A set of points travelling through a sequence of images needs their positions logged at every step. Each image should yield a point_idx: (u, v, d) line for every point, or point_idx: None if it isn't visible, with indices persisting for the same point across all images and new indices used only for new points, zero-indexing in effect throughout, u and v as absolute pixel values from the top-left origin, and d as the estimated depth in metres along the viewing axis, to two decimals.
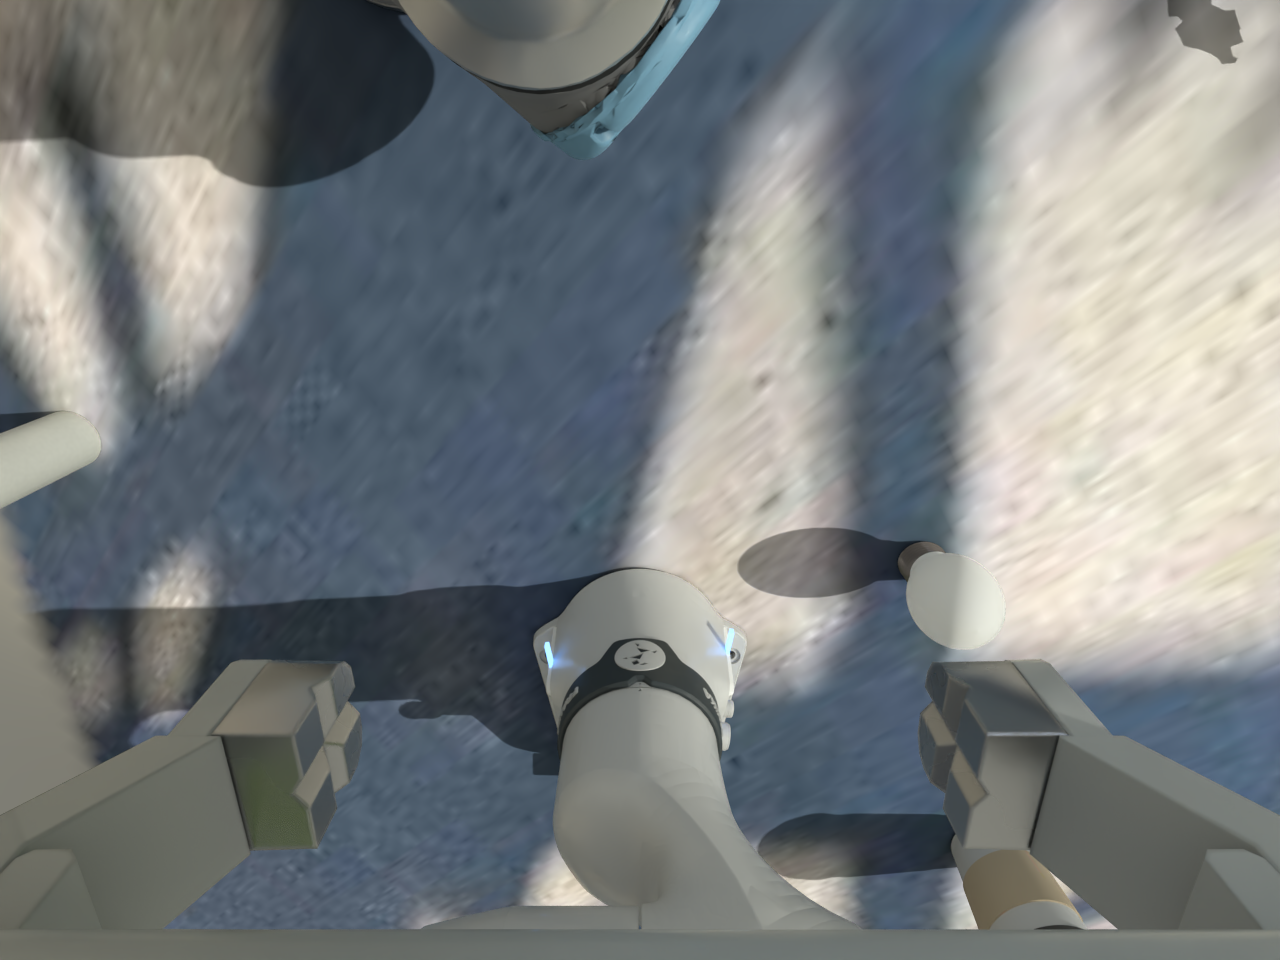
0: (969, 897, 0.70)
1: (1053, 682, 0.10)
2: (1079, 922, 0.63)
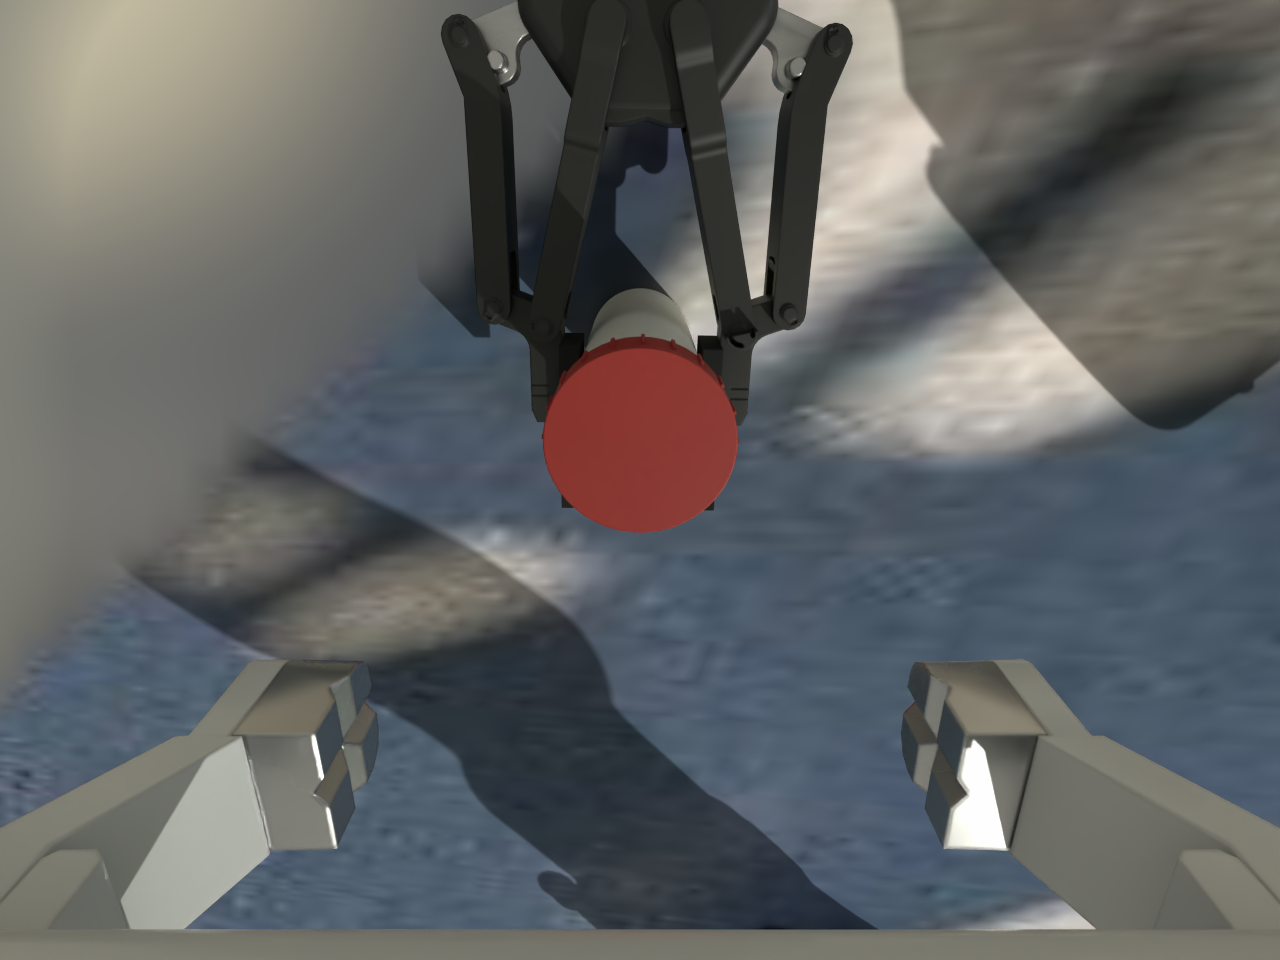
0: None
1: (1034, 682, 0.10)
2: None
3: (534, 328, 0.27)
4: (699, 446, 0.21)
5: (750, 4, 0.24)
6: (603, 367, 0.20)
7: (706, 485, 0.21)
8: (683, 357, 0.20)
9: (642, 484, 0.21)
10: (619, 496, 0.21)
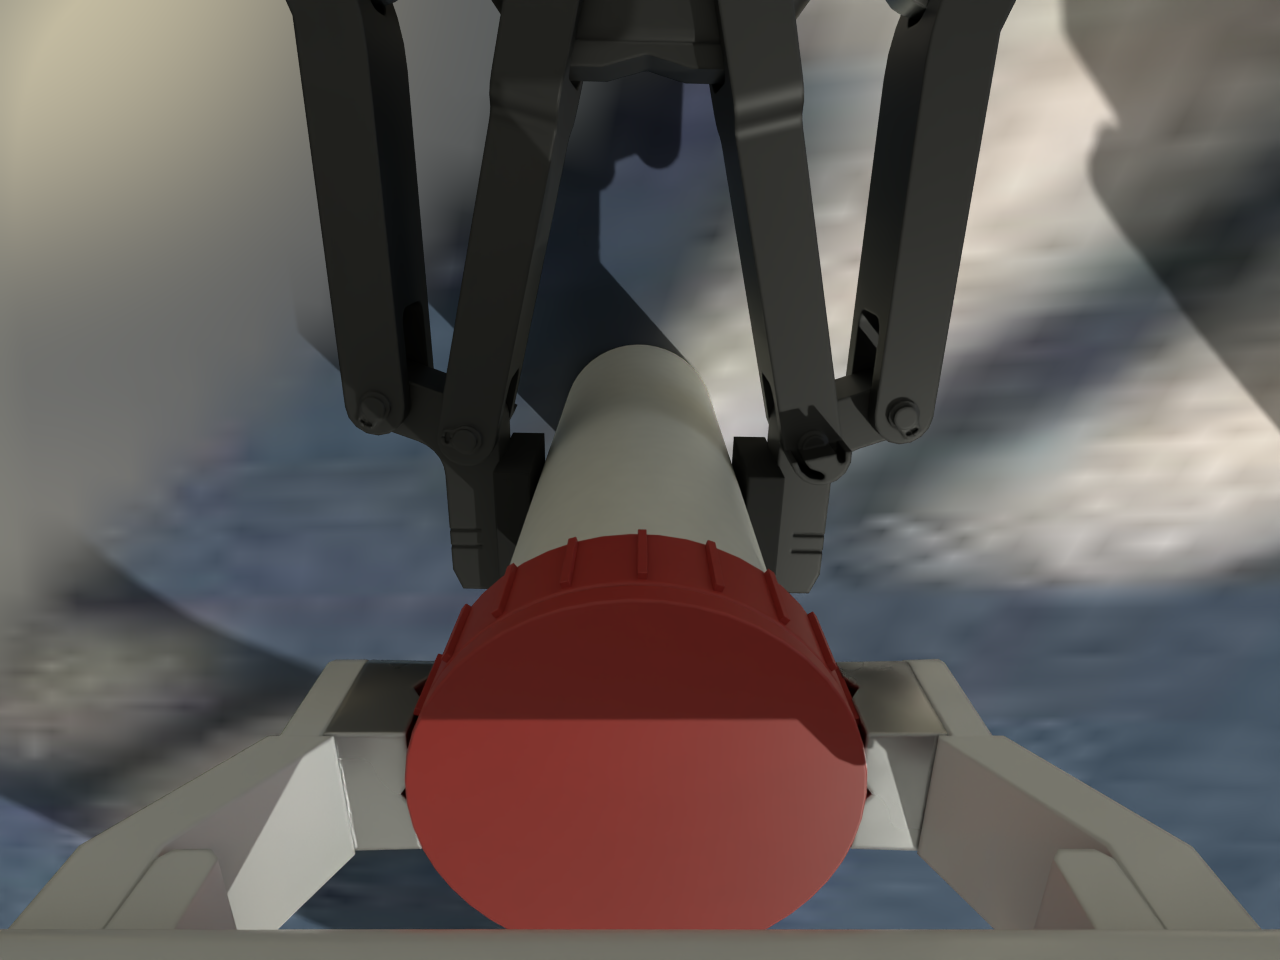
0: None
1: (944, 682, 0.10)
2: None
3: (449, 441, 0.15)
4: (775, 804, 0.09)
5: None
6: (544, 643, 0.08)
7: (788, 878, 0.09)
8: (743, 620, 0.08)
9: (641, 876, 0.09)
10: (588, 897, 0.09)
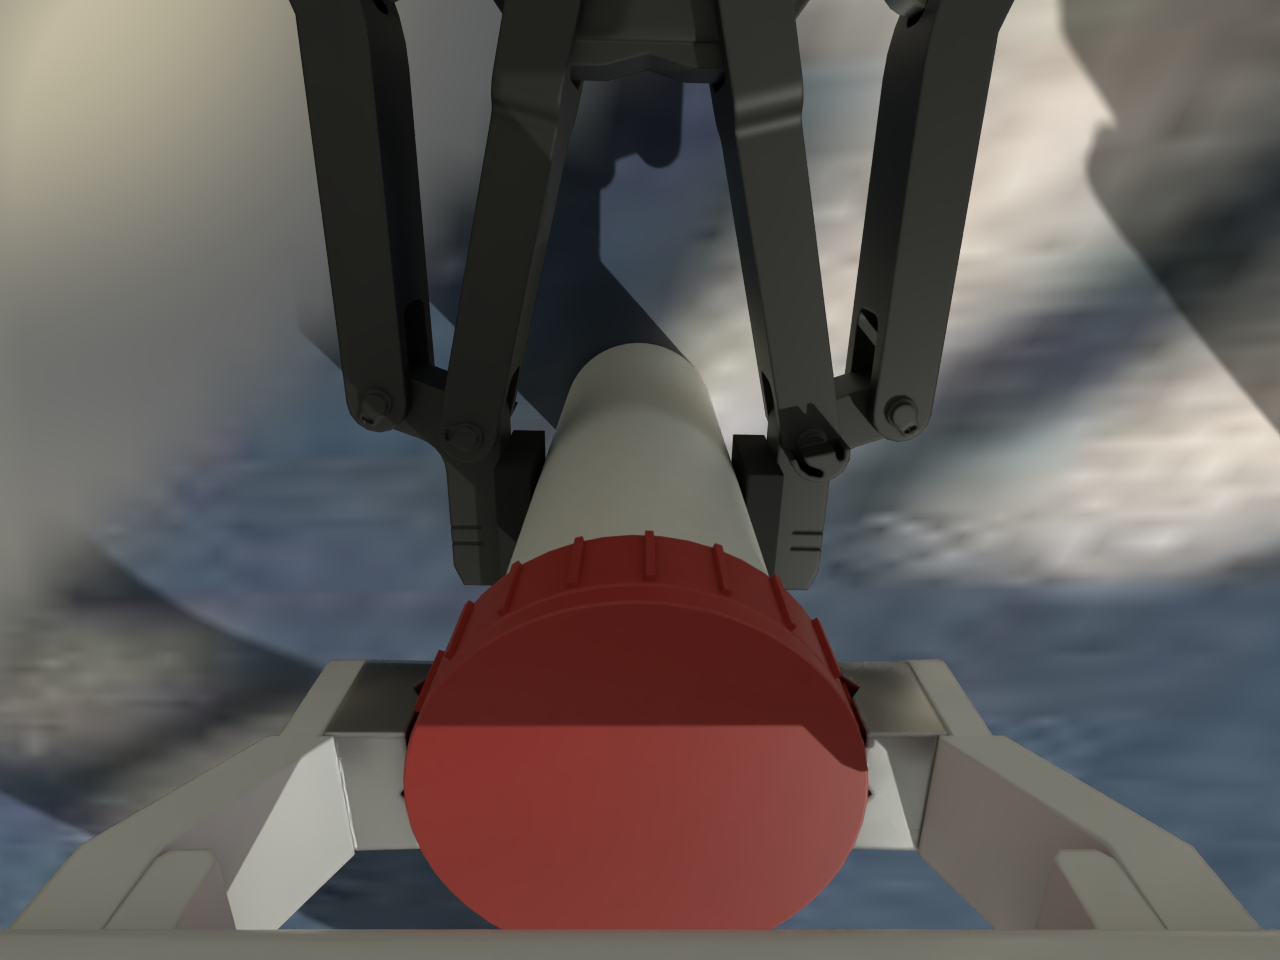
0: None
1: (945, 682, 0.10)
2: None
3: (450, 438, 0.15)
4: (730, 715, 0.08)
5: None
6: (433, 765, 0.09)
7: (822, 754, 0.08)
8: (519, 625, 0.08)
9: (717, 848, 0.09)
10: (706, 893, 0.09)
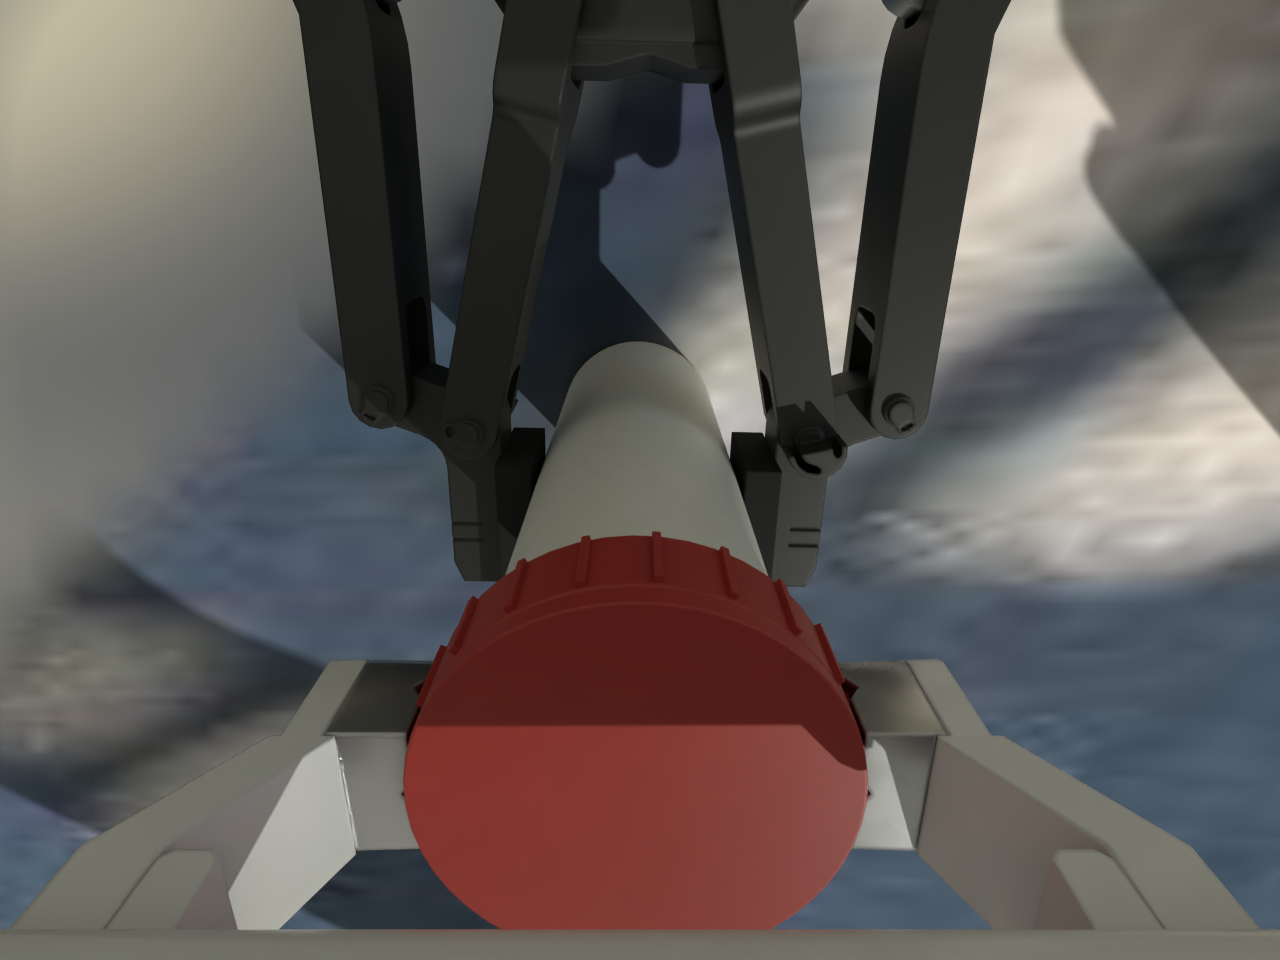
0: None
1: (943, 682, 0.10)
2: None
3: (451, 435, 0.16)
4: (602, 691, 0.08)
5: None
6: (485, 895, 0.09)
7: (702, 651, 0.08)
8: (404, 767, 0.09)
9: (734, 781, 0.09)
10: (776, 817, 0.09)
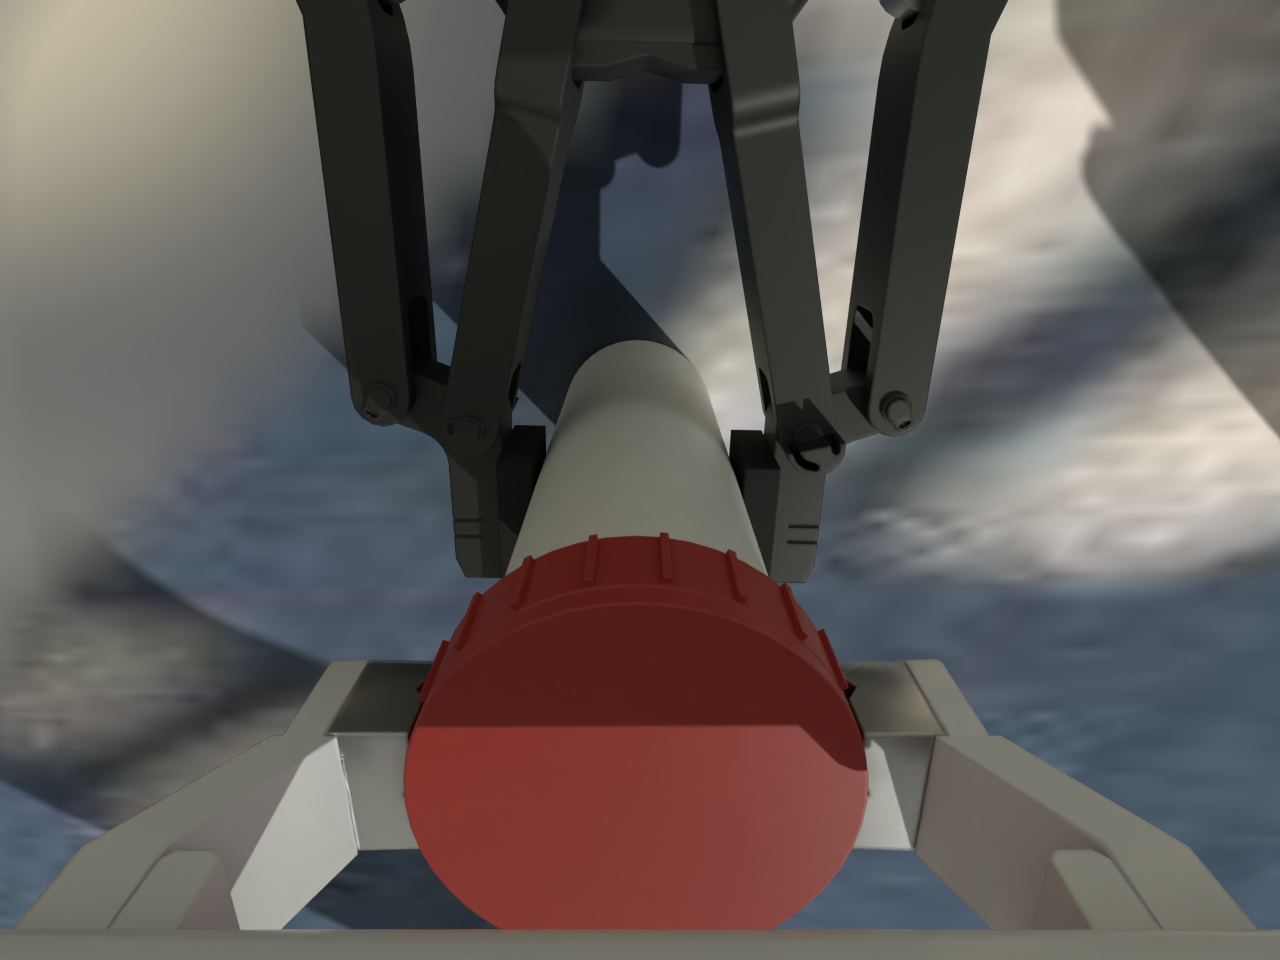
0: None
1: (942, 682, 0.10)
2: None
3: (453, 432, 0.16)
4: (504, 757, 0.08)
5: None
6: None
7: (521, 672, 0.08)
8: (475, 910, 0.09)
9: (673, 728, 0.08)
10: (741, 722, 0.08)
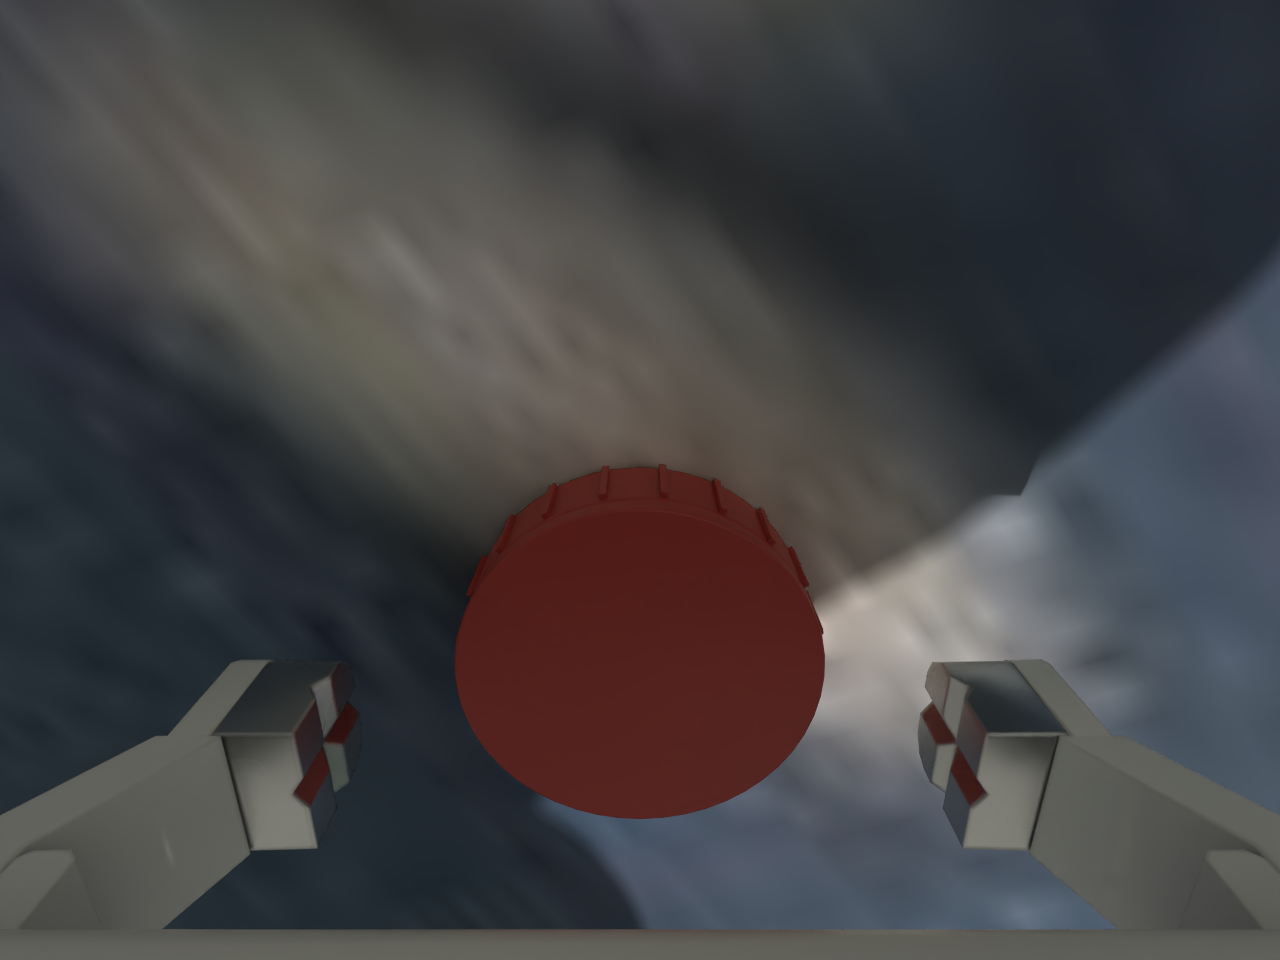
0: None
1: (1053, 682, 0.10)
2: None
3: None
4: (535, 638, 0.11)
5: None
6: (640, 804, 0.12)
7: (550, 566, 0.10)
8: (509, 772, 0.12)
9: (669, 613, 0.11)
10: (722, 608, 0.11)
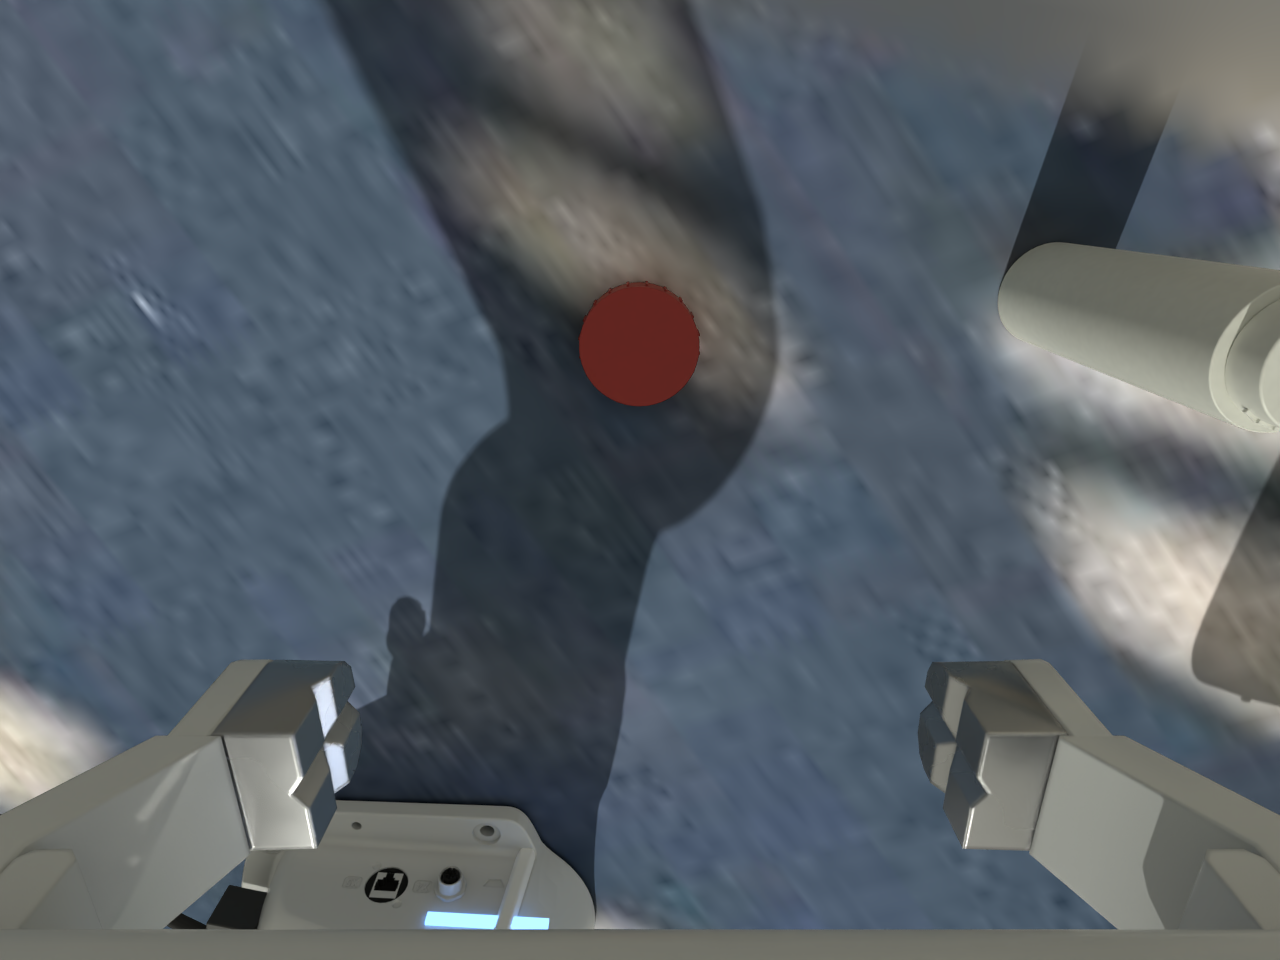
0: None
1: (1053, 682, 0.10)
2: None
3: None
4: (606, 332, 0.34)
5: None
6: (639, 399, 0.35)
7: (611, 306, 0.33)
8: (595, 386, 0.34)
9: (648, 323, 0.33)
10: (665, 321, 0.33)
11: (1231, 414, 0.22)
